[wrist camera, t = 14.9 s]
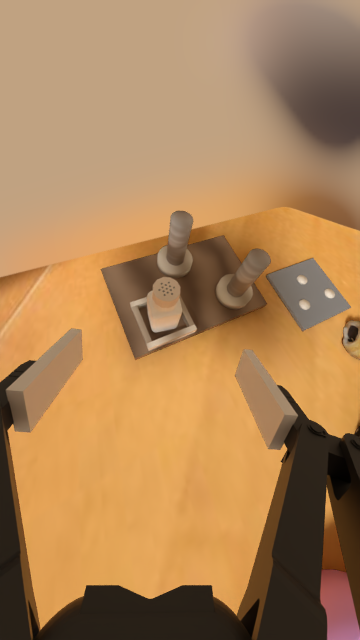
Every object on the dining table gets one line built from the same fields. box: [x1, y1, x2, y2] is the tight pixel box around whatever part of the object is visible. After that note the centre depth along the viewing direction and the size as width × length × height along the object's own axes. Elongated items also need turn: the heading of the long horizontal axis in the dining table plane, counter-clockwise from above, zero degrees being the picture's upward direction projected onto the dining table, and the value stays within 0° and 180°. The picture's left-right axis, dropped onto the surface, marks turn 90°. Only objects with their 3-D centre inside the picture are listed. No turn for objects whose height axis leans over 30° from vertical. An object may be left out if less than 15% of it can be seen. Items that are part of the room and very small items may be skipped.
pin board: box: [101, 211, 271, 360], centre depth 30 cm, size 24×16×11 cm, turn 115°
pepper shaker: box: [147, 277, 182, 332], centre depth 27 cm, size 4×4×10 cm
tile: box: [266, 258, 351, 331], centre depth 38 cm, size 12×12×1 cm
